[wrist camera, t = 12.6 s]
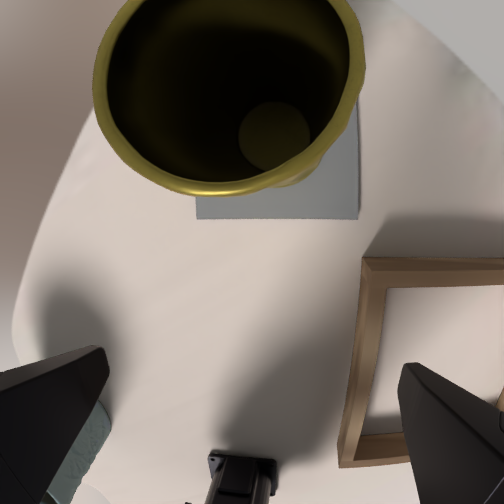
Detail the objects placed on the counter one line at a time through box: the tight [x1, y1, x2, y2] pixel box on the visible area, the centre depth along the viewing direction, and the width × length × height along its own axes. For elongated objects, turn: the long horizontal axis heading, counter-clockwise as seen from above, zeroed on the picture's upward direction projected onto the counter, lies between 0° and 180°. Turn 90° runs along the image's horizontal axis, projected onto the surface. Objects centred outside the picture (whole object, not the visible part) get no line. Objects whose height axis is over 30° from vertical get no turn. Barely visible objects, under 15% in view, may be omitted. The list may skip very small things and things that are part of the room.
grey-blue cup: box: [40, 400, 111, 504], centre depth 22 cm, size 10×10×12 cm
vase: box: [92, 0, 366, 198], centre depth 12 cm, size 6×6×14 cm
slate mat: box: [196, 103, 358, 220], centre depth 19 cm, size 10×10×1 cm
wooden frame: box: [337, 257, 504, 468], centre depth 19 cm, size 17×17×3 cm
